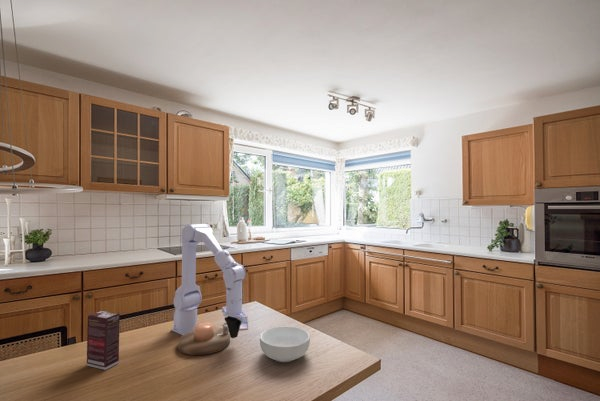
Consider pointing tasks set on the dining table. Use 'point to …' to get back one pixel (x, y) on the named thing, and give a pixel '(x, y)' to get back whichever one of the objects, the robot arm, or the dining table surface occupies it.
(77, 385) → the dining table surface
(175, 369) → the dining table surface
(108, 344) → the supplement box
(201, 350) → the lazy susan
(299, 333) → the cereal bowl
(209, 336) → the peach knob
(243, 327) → the smartphone
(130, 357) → the dining table surface
